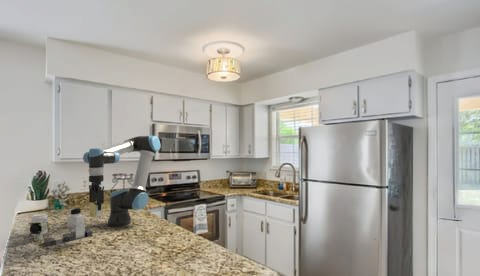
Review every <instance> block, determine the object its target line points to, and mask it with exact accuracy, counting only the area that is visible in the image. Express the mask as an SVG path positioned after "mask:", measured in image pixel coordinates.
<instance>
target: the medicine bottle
mask: <svg viewBox="0 0 480 276" xmlns="http://www.w3.org/2000/svg"><path fill="white" fill-rule="evenodd" d="M81 213H82V209H81V208H79V207H76V208H71V209H70V214H69V216H67V217H66V227H67V229H68V228H70V229H72V224H73V223H78V222H83V223H85V222H84V221H85V218H84V217H85V216H84V214H81Z"/></svg>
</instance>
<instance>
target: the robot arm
mask: <svg viewBox="0 0 480 276" xmlns="http://www.w3.org/2000/svg"><path fill="white" fill-rule="evenodd" d="M161 147H162V146H161V141H160V138H158V137H157V136H156V135H145V136H144V135H141V136H134V137H131V138H129V139H125V140H124V141H122V142H121V143H116V144H114V145H111V146H107V147H103V148H102V147H101V148H100V147H99V148H97V147H96V148H94V147H93V148H92V147H91V148H90V149H89V151H86V152H85V153H84V154H83V156H82V159H83V162H84V163H85V164H88V175H89V176H88V182H89V183H91V184H89V185H88V189H89V192H88V195H89V197H88V201H89V203H90V202H95V201H97V204H96V217H95V218H98V217H97V216H99V217H102V216H101V204H104V202H105V200H104V193H105V191H104V189H105V186H103V185H102V182H104V172H105V171H104V165H107V164H116V163H119V161H120V159H121V155H123V154H126V153H128V154H129V153H135V152H138V153H139V158H138V159H139V160H138V163H137V167H136V171H135V174H134V179H133V184H132V186H130V187H129V189H121V190H115V191H112V192H111V193H110V199H109V201H110V204H109V205H110V208H109V209H110V214H109V216H108V220H107V226H109V227H123V226H126V225H130V224H131V223H132V218H131V215H130V213H129V210H134V211H137V210H138V211H141V210H143V209H144V208H146V207H147V205H148V203H149V200H150V198H149V194H148V193H147V192H148V191H147V189H146V187H147V181H148V177H149V174H150V169H151V166H152V160H153V157H155V156H156V154H157V152H159V151H160V150H161Z"/></svg>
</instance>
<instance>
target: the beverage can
mask: <svg viewBox="0 0 480 276" xmlns="http://www.w3.org/2000/svg"><path fill="white" fill-rule="evenodd" d="M38 219H47V221H46V222H49V219H48V214H47V213H37V214H33V215H32V217H31V223H32V222H34V221H36V220H38ZM48 227H49V226H48ZM48 227H47V228H46V230H45V231H43V232H42V233H43V236H44V235H46V234H48V232H49V231H48V229H49V228H48ZM40 234H41V233H40ZM30 235H31V236H33V237H34V235H35V234H30Z"/></svg>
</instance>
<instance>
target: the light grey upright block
mask: <svg viewBox="0 0 480 276" xmlns="http://www.w3.org/2000/svg"><path fill="white" fill-rule="evenodd" d="M85 229H86V223H85V222H84V223H83V222H78V223H73V224H72V228H71V234H74V235H76V239H78V238H82V237H85ZM82 239H83V238H82ZM78 240H79V239H78Z"/></svg>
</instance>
